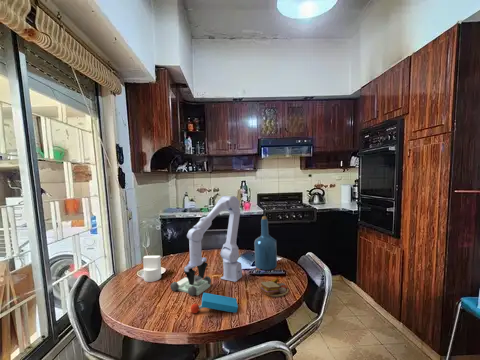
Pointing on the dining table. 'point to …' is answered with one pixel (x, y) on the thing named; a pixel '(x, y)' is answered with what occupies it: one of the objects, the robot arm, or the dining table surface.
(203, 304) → the lever
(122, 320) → the dining table surface
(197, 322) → the dining table surface
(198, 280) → the grey boxy piece
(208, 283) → the chassis
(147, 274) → the cylinder with rectangular tab
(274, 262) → the wine bottle
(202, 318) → the dining table surface
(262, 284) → the toy sandwich meal
